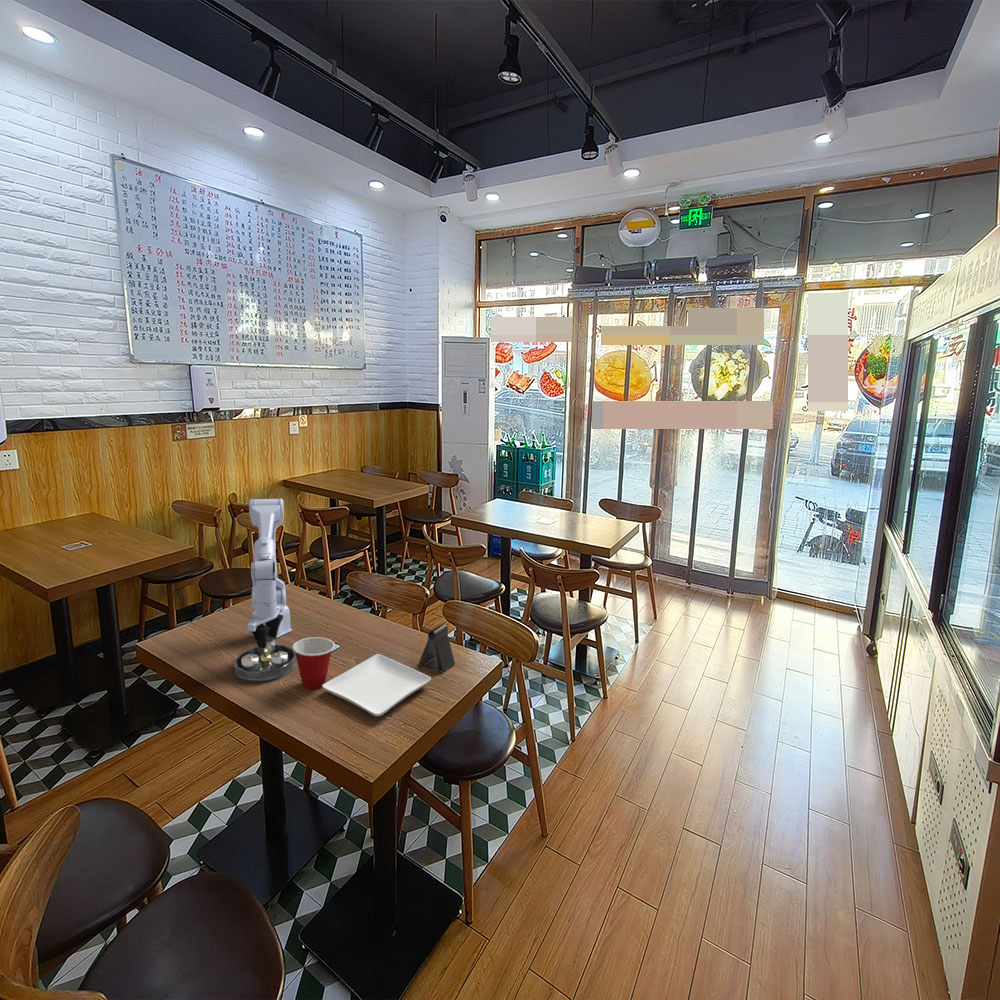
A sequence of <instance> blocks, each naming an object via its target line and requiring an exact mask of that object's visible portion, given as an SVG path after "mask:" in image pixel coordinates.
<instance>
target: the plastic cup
mask: <svg viewBox="0 0 1000 1000" xmlns="http://www.w3.org/2000/svg"><path fill="white" fill-rule="evenodd" d="M335 647H336V645H335V642H334V641H333V640H332V639H328V638H327V637H319V636H316V637H314V636H312V637H306V638H302V639H300V640H298V641H297V640H296V641H295V642H294V644H292V648H293V650H294V651H295V655H296V659H297V661H296V664H297V666H298V667H297V668H298V672H299V676H300V680H301V684H302V687H303V689H305V690H308V691H317V690H319V689H322V688H323V687H322V685H323V684H325V683H326V681H327V674H328V671H329V665H330V661H331V660H330V659H331V656H332V653H333V651H334V649H335Z"/></svg>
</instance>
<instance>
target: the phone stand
mask: <svg viewBox="0 0 1000 1000" xmlns="http://www.w3.org/2000/svg"><path fill="white" fill-rule="evenodd" d="M448 634H449V628H448V626H447V624H444V623H440V624H439V625H437V626H435V628H433V629H431V630H430V631H428V632H427V637H428V638H427V642H426V644H425V646H424V649H423V652H422V654H421V656H420V658H419V661H418V664H419V665H420V664H421V665H420V666H423V667H425V666H427V667H426V668H428V667H429V668H428V669H431V668H432V670H433V669H436V670H438V671H437V672H439V671H442V672H444V671H445V672H446V671H448V670H449V669H451V668H452V667H453V666H454V665H456V663H455V659H454V655H453V651H452V646H451V643H450V639H449V635H448ZM452 665H453V666H452ZM451 666H452V667H451ZM448 668H449V669H448ZM447 669H448V670H447ZM436 670H435V671H436ZM445 672H444V673H445Z"/></svg>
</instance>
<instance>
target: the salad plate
mask: <svg viewBox="0 0 1000 1000" xmlns="http://www.w3.org/2000/svg"><path fill="white" fill-rule="evenodd" d="M431 680H432V677H431V676H430V675H427V674H425V673H424V672H420V671H418V670H417V669H414V668H412V667H409V666H407V665H405V664H403V663H401V662H398V661H397V660H394V659H391V658H389V657H387V656H384V655H383V654H380V653H376V654H374V655H372V656H371V657H369V658H367V659H365V660H364V661H362V662H360V663H359V664H356V666H353V667H351V668H350V669H348V670H346V671H345V672H343V673H341V674H339V675H337V676H335V677H333V678H332V679H330V680H328V681H327V682H325V684H323V685H322V688H323V689H324V690H325V691H326V693H327V692H328V693H329V694H331V695H334V696H336V697H338V698H341V699H342V700H345V701H347V702H348V703H350V704H352V705H354V706H357V707H358V708H359V709H362V710H364V711H365V712H367V713H369V714H370V715H372V716H374V717H381V716H383V715H385V713H387V712H388V711H390V709H392V708H394V707H395V706H397V705H398V704H400V703H401V702H402V701H404V700H406V698H408V697H409V696H410V695H412V694H414V693H415V692H417V691H418V690H420V689H421V688H423V687H424V686H427V684H428V683H429V682H430V681H431Z"/></svg>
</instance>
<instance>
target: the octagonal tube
mask: <svg viewBox="0 0 1000 1000" xmlns="http://www.w3.org/2000/svg"><path fill="white" fill-rule="evenodd" d="M275 644H276V640H275V638H274V637H272V636H267V645H266V647H265V648H259V647H258V652H259V653H261V654H264V653H272V652H273V651H274V650H275Z"/></svg>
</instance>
